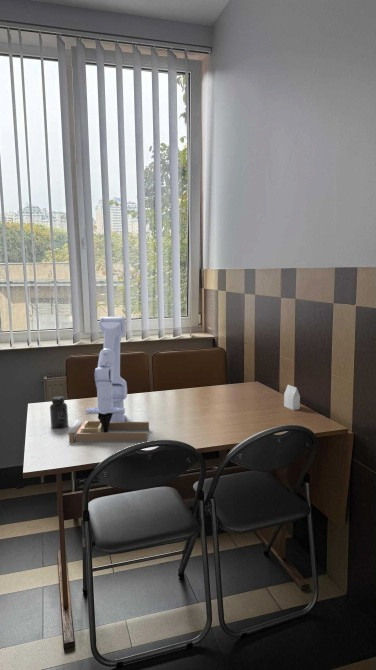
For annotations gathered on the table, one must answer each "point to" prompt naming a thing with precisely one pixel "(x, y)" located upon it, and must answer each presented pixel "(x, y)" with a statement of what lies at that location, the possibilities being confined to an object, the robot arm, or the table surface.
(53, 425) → the supplement bottle
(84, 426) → the crate
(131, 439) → the bay
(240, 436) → the table surface
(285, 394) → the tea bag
